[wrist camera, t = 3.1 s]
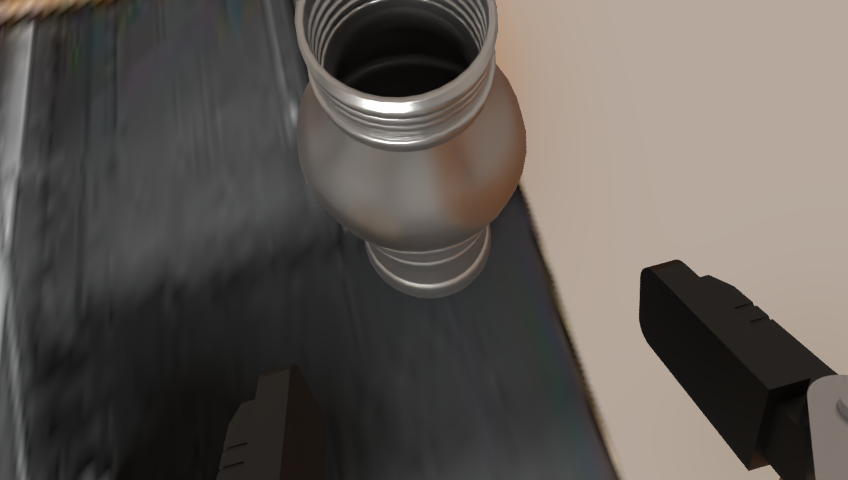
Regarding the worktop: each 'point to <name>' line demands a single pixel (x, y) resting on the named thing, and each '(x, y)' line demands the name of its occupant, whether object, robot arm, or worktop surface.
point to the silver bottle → (409, 133)
